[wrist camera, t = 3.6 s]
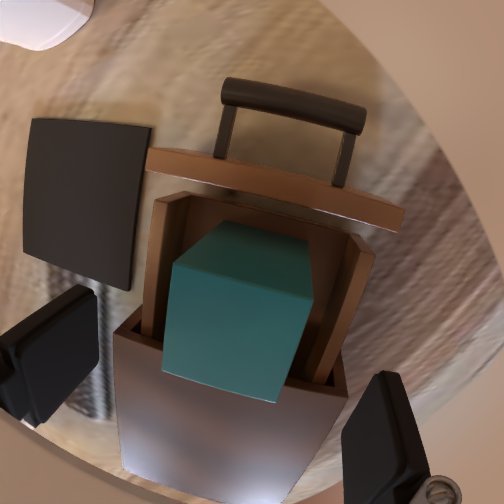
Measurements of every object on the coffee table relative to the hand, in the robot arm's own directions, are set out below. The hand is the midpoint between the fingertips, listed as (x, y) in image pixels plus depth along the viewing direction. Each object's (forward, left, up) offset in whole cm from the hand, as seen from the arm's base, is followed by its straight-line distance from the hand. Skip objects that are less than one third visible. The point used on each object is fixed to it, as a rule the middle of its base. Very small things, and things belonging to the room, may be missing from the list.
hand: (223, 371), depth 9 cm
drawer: (0, +1, -11) cm, 11 cm away
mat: (-15, +1, -12) cm, 19 cm away
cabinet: (0, -12, -12) cm, 17 cm away
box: (0, 0, -10) cm, 10 cm away
